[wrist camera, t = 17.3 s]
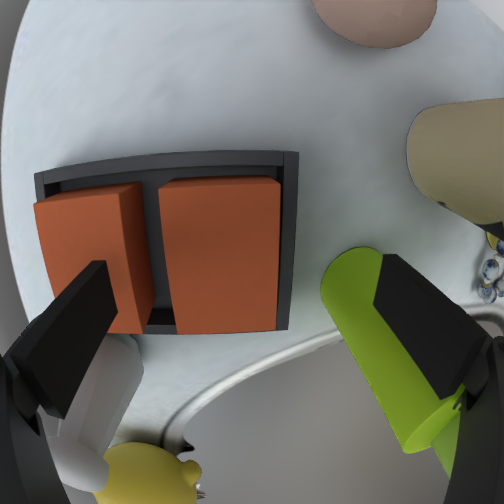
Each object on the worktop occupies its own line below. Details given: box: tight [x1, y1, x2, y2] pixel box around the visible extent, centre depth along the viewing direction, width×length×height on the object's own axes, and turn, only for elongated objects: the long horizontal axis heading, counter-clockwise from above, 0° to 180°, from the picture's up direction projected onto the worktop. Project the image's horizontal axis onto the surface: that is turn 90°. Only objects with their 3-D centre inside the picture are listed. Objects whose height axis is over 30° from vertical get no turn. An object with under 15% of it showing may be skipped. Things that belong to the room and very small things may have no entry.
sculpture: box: [92, 442, 202, 504], centre depth 21 cm, size 15×13×13 cm
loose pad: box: [158, 175, 280, 334], centre depth 15 cm, size 6×8×4 cm
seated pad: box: [33, 181, 156, 334], centre depth 15 cm, size 6×8×4 cm
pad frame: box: [34, 150, 299, 335], centre depth 16 cm, size 16×11×3 cm
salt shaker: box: [46, 333, 144, 492], centre depth 14 cm, size 6×6×13 cm
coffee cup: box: [406, 98, 504, 242], centre depth 11 cm, size 9×9×12 cm
